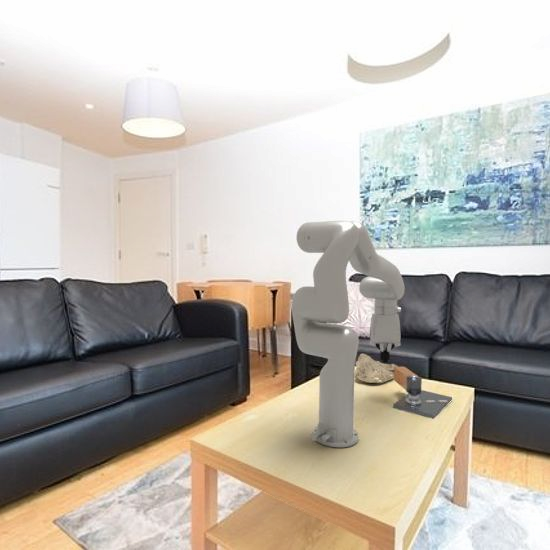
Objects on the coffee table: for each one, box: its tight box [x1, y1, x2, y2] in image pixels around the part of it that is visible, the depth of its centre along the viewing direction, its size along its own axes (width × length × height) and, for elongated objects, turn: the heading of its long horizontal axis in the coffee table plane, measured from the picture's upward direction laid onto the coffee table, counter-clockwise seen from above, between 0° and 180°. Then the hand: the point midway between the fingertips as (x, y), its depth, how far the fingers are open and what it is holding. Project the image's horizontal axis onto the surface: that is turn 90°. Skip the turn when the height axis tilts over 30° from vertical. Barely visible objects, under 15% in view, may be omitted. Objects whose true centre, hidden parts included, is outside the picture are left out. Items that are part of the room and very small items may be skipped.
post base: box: [392, 389, 453, 419], centre depth 132 cm, size 20×13×4 cm
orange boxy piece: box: [393, 366, 423, 395], centre depth 135 cm, size 15×5×6 cm, turn 5°
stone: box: [354, 353, 399, 384], centre depth 163 cm, size 30×10×15 cm
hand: (384, 361), depth 136 cm, fingers closed
